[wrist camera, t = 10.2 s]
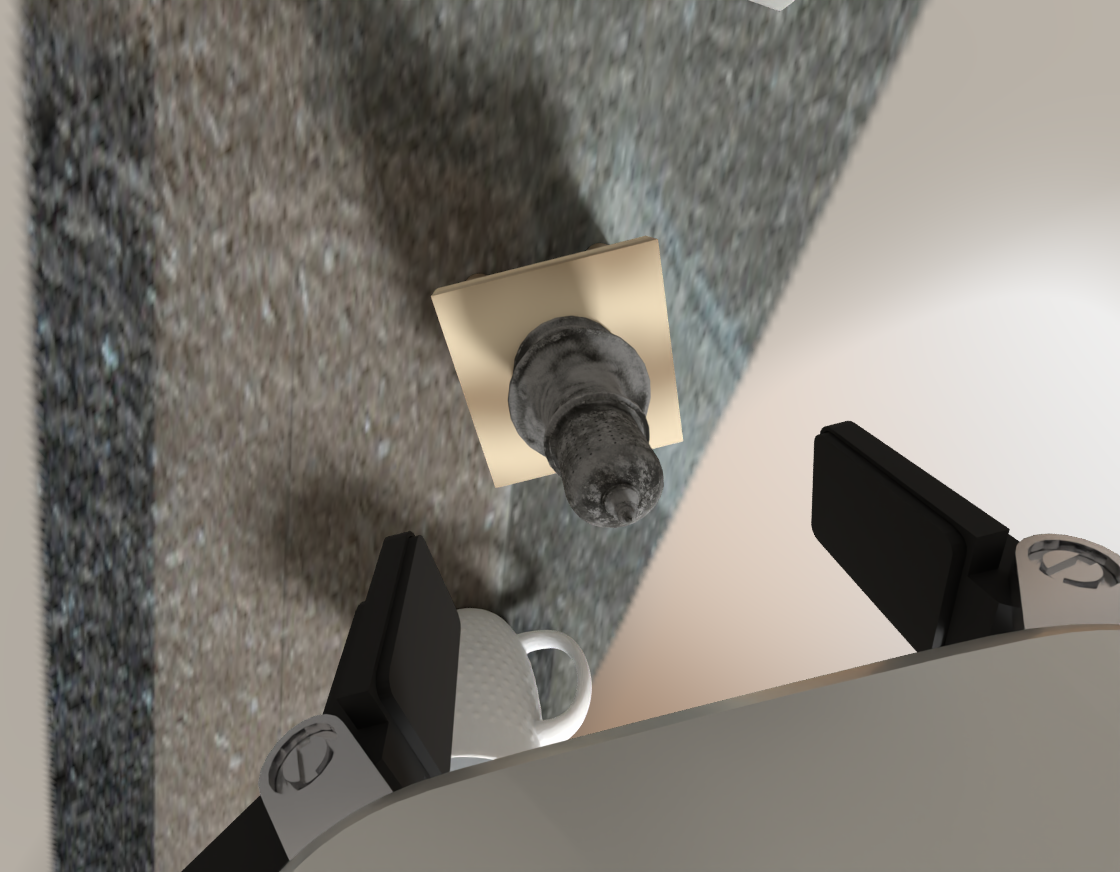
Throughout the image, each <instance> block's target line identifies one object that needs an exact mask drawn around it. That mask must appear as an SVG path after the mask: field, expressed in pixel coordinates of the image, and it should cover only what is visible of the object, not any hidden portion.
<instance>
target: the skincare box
mask: <svg viewBox="0 0 1120 872" xmlns="http://www.w3.org/2000/svg"><path fill="white" fill-rule="evenodd" d="M750 1H753V2H755V3H758V4H761V5H763V6H766V7H769V8H772V9H774V10H777V11H781V10H783V9H784V8H785V7H787V6H788V5H789V4H791V3H792V2H793V1H795V0H750Z"/></svg>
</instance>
